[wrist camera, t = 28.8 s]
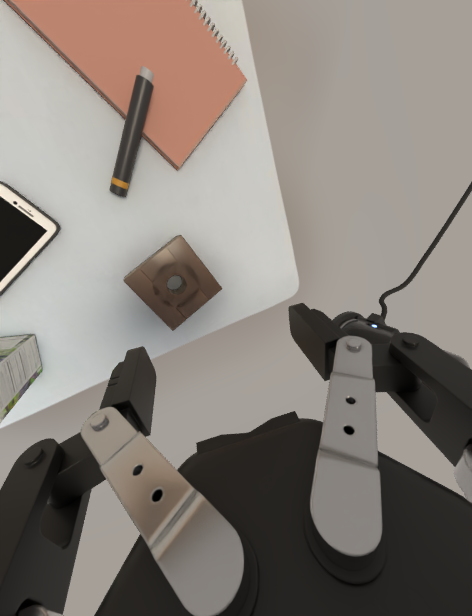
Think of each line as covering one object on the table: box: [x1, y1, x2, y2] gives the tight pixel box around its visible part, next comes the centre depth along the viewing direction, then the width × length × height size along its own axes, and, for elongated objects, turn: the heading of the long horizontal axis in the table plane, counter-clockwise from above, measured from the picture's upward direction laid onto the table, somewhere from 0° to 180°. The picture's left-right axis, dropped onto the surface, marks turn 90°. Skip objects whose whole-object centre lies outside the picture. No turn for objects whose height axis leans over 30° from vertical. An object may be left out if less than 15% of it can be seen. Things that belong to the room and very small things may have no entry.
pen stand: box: [124, 235, 222, 331], centre depth 37 cm, size 10×10×4 cm
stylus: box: [110, 66, 154, 197], centre depth 30 cm, size 2×2×14 cm
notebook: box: [5, 0, 247, 170], centre depth 28 cm, size 27×17×2 cm, turn 50°
